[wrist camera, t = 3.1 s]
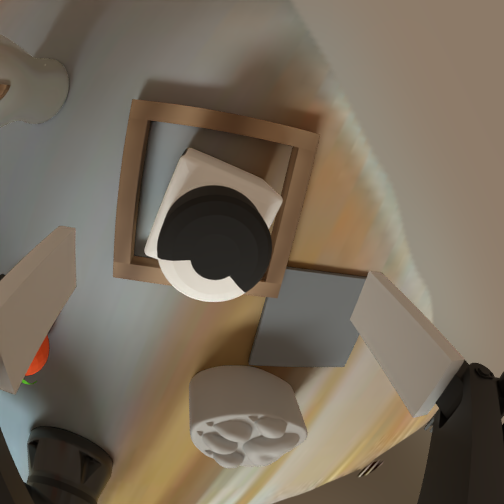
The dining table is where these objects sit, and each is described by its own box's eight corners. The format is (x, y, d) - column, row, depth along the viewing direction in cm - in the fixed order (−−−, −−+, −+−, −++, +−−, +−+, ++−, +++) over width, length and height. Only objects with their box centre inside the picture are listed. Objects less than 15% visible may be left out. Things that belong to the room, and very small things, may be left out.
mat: (248, 361, 34) (249, 365, 34) (274, 264, 30) (276, 267, 29) (342, 363, 37) (344, 366, 36) (378, 278, 33) (381, 281, 32)
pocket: (117, 268, 28) (113, 277, 26) (137, 100, 22) (132, 99, 21) (273, 288, 31) (277, 298, 29) (313, 133, 26) (320, 134, 24)
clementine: (71, 353, 31) (53, 397, 24) (29, 358, 30) (8, 397, 24) (41, 294, 27) (12, 334, 21) (-1, 303, 27) (-31, 339, 20)
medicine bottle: (187, 145, 25) (175, 162, 14) (264, 179, 27) (310, 221, 16) (155, 222, 27) (127, 292, 16) (230, 251, 29) (249, 332, 18)
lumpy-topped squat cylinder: (252, 430, 40) (263, 480, 32) (171, 399, 35) (169, 456, 27) (303, 387, 38) (323, 440, 30) (219, 348, 33) (227, 409, 25)
